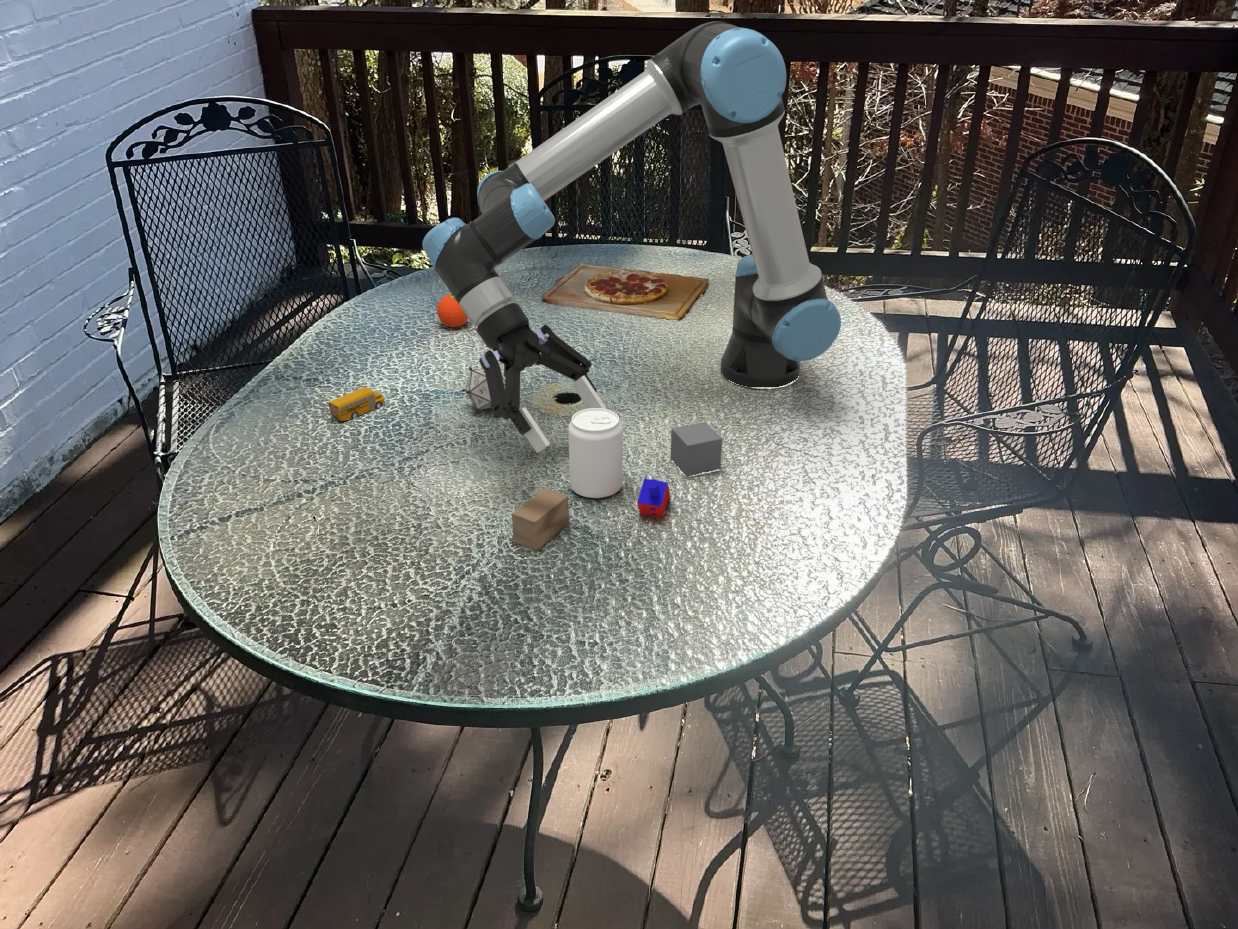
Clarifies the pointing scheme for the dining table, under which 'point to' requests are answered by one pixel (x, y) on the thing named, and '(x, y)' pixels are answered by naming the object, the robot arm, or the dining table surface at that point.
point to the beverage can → (595, 452)
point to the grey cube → (696, 448)
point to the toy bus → (355, 404)
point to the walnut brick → (540, 519)
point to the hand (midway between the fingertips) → (573, 431)
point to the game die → (479, 389)
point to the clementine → (451, 312)
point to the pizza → (626, 291)
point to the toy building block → (653, 498)
